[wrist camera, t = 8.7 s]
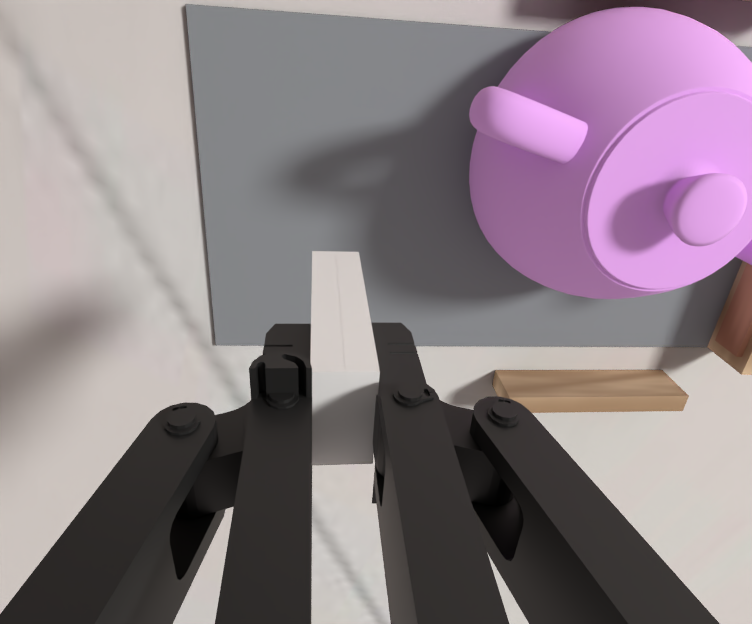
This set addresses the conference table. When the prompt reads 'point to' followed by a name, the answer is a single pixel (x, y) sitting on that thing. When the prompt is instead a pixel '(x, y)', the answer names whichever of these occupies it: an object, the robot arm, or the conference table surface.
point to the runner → (380, 185)
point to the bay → (633, 387)
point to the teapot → (618, 155)
